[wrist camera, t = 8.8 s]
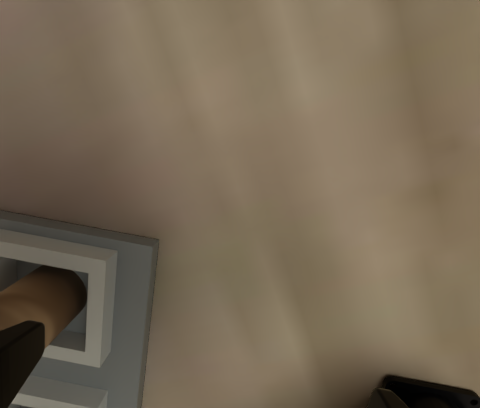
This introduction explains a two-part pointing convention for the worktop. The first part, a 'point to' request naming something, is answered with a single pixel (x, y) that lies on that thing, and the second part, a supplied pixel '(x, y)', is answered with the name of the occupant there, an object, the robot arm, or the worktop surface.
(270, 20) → the worktop surface
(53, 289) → the sleeve
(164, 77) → the worktop surface
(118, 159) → the worktop surface
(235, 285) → the worktop surface
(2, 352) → the robot arm
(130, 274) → the socket board
